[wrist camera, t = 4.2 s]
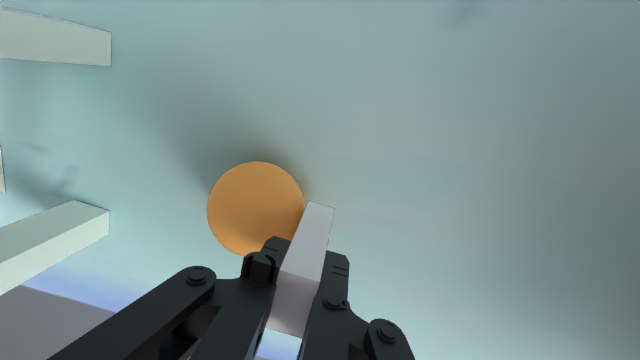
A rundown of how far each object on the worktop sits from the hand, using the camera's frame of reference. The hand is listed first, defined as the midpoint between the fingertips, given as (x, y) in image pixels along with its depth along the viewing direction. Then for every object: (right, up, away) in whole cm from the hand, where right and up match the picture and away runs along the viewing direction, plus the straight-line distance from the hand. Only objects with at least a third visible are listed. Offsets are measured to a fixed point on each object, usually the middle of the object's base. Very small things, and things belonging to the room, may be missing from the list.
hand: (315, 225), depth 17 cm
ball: (-3, +1, 0) cm, 4 cm away
